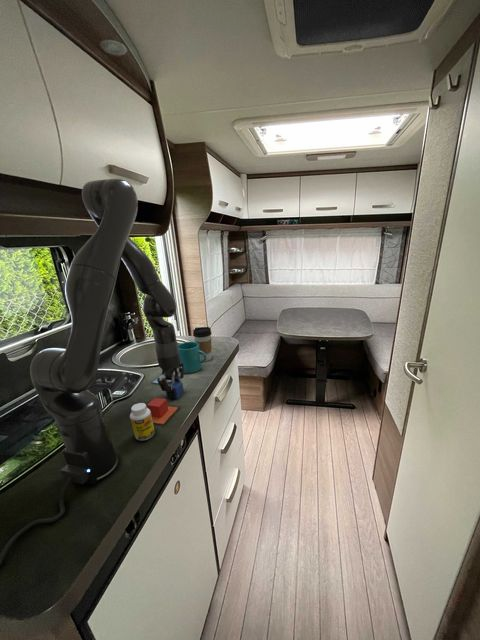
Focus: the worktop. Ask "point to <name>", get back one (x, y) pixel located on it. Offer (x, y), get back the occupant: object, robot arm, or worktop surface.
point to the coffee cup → (203, 341)
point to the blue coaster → (157, 381)
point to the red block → (158, 407)
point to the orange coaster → (165, 417)
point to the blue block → (177, 389)
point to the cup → (191, 356)
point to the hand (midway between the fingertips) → (175, 394)
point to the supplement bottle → (142, 422)
